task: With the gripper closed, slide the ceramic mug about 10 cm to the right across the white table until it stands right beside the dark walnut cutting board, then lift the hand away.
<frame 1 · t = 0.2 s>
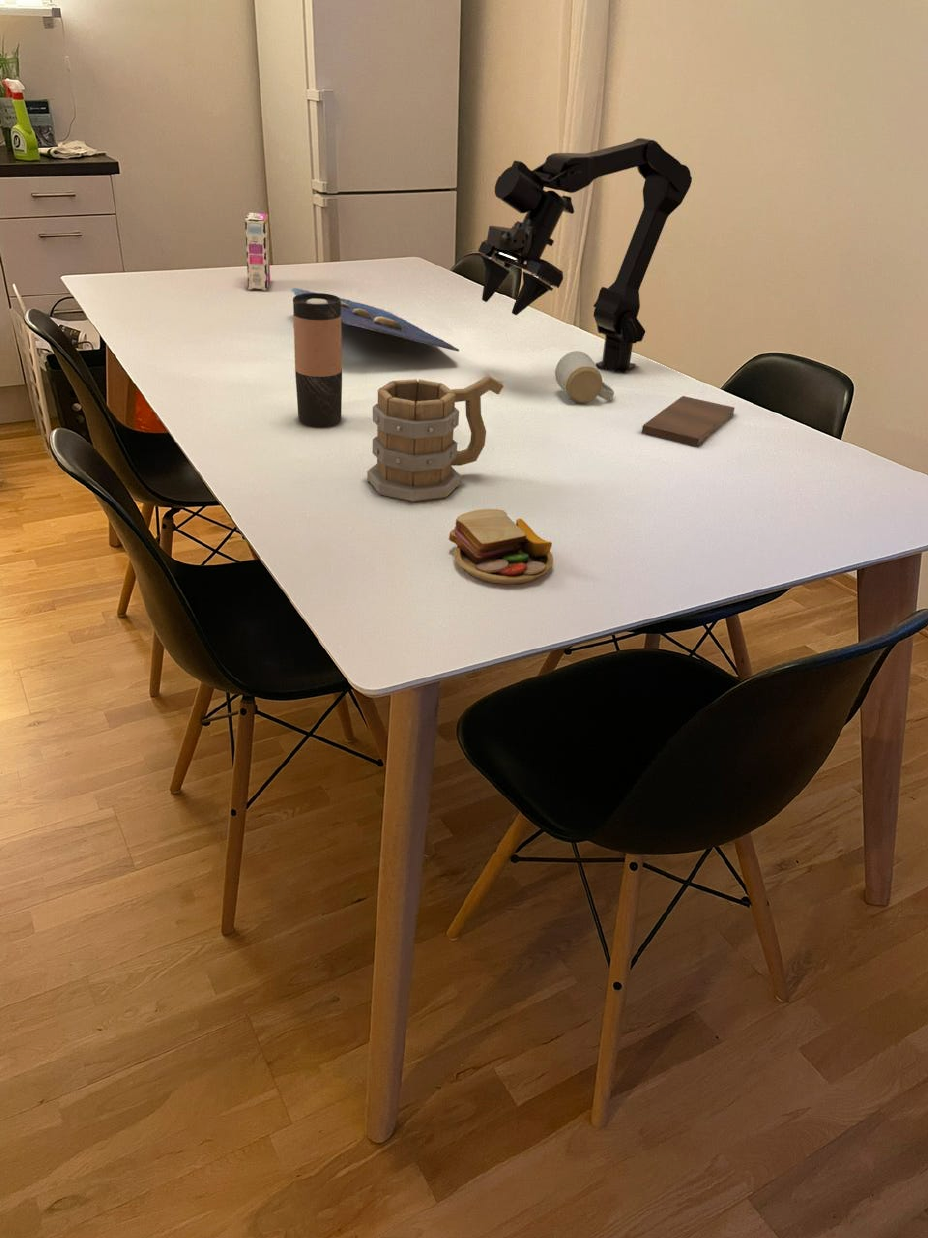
hand: (498, 307, 174), 14 cm above the table, tool tilted 30°, fingers open, 9 cm apart
ceramic mug: (583, 398, 179), on the table
travel mug: (320, 421, 161), on the table
walnut board: (688, 423, 169), on the table
toy sandwich meal: (498, 563, 121), on the table
serving platter: (363, 341, 203), on the table
candy bar box: (260, 286, 239), on the table
tankard: (436, 481, 142), on the table
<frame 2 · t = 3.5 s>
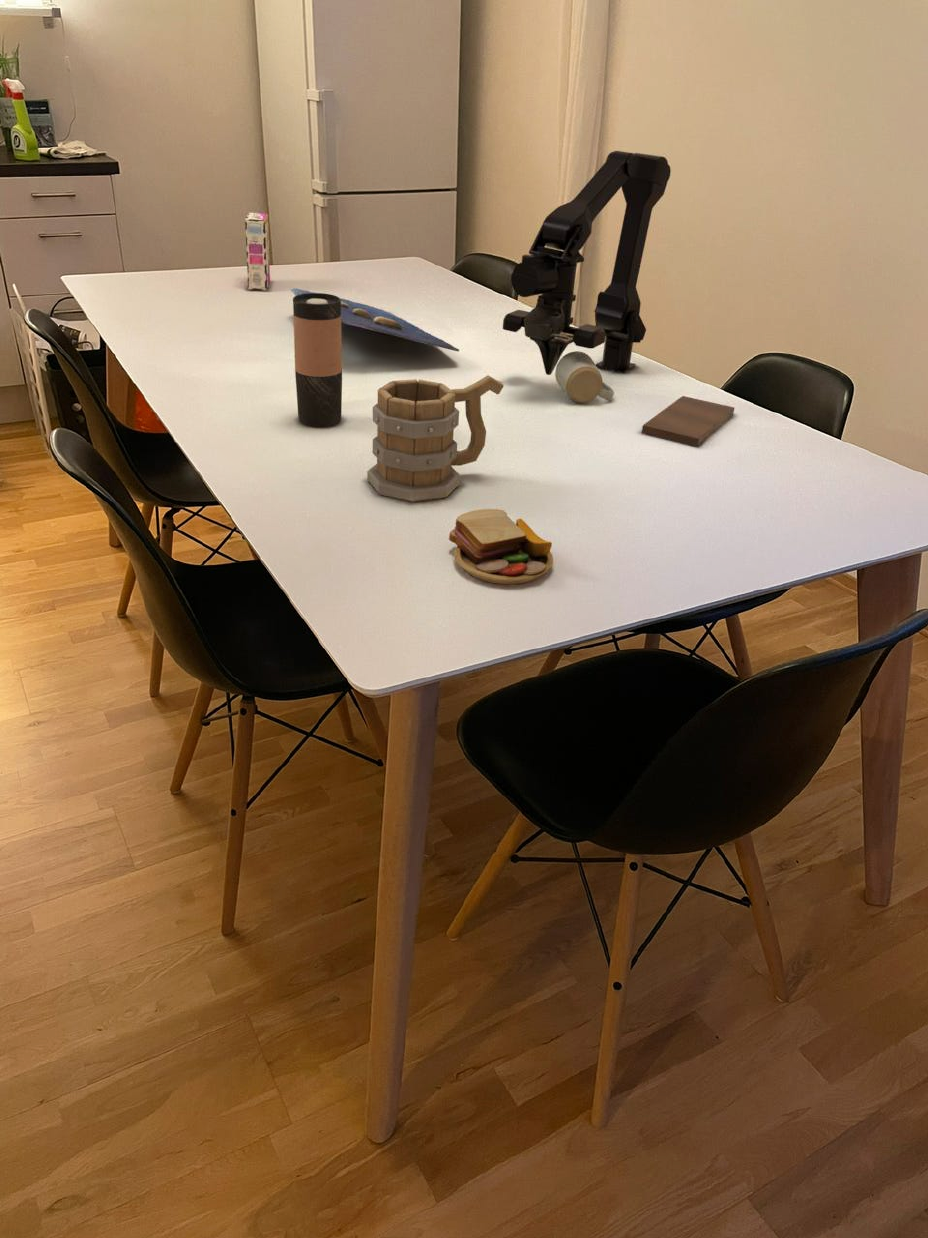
hand: (548, 374, 180), 3 cm above the table, tool pointing down, fingers closed
ceramic mug: (583, 398, 179), on the table, touching gripper
everything else where it was.
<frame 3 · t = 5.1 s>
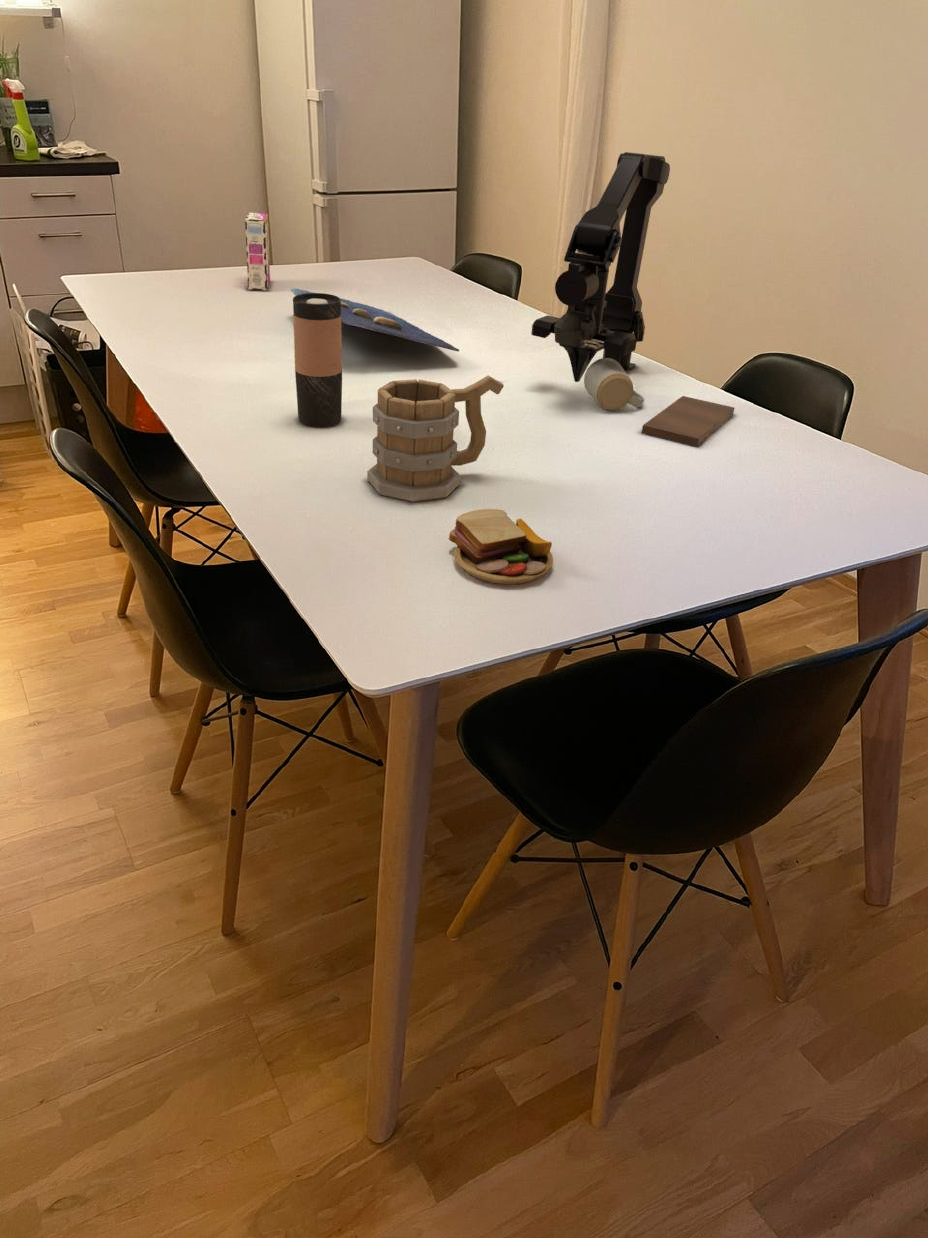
hand: (577, 381, 178), 3 cm above the table, tool pointing down, fingers closed
ceramic mug: (613, 405, 176), on the table, touching gripper
everything else where it was.
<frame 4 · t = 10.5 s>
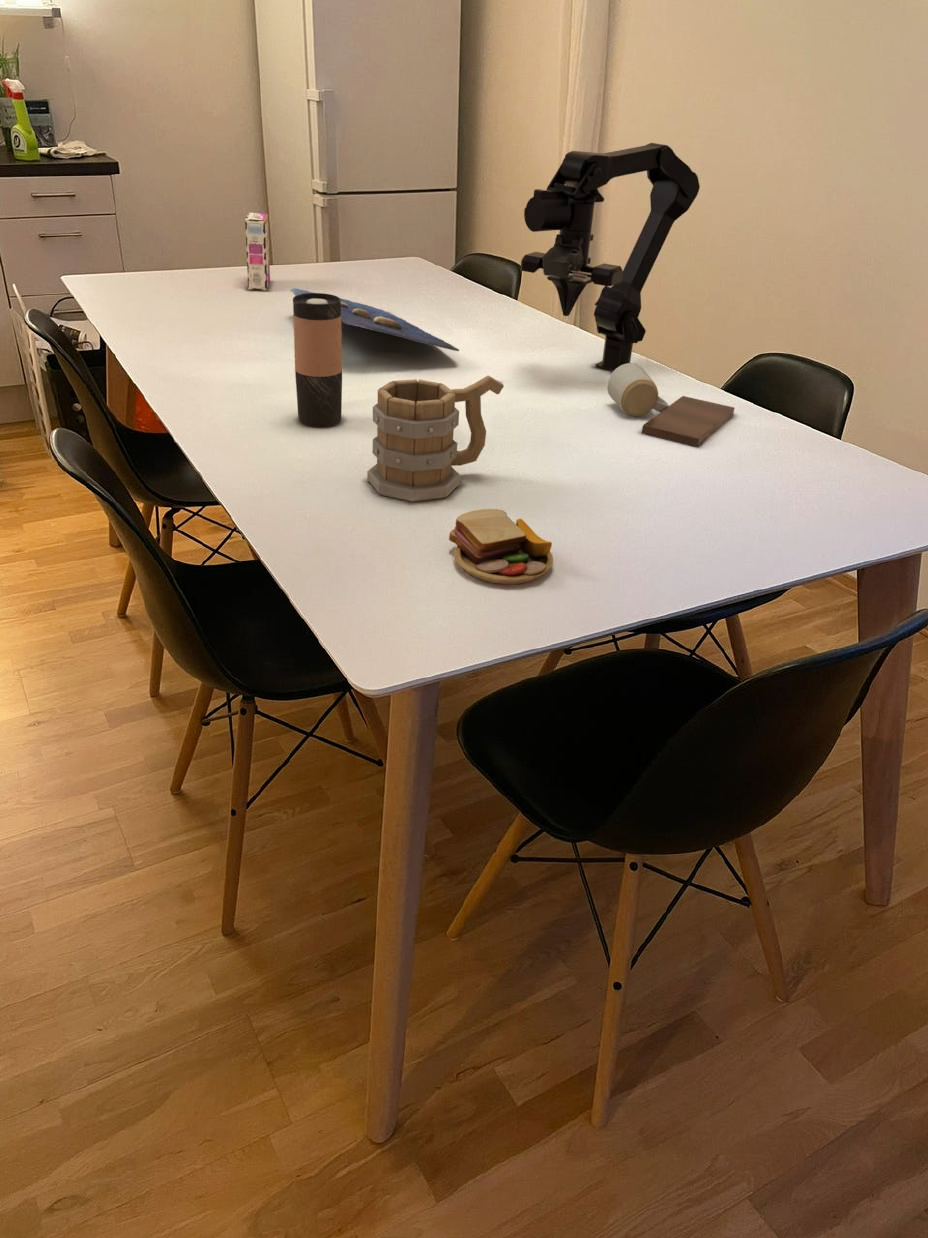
hand: (566, 315, 182), 12 cm above the table, tool pointing down, fingers closed
ceramic mug: (637, 411, 174), on the table
everything else where it was.
at the end: ceramic mug inside the target area (0.4 cm from its centre), on the table; ceramic mug 10.2 cm from the walnut board (horizontally); ceramic mug tilted 1° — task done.
